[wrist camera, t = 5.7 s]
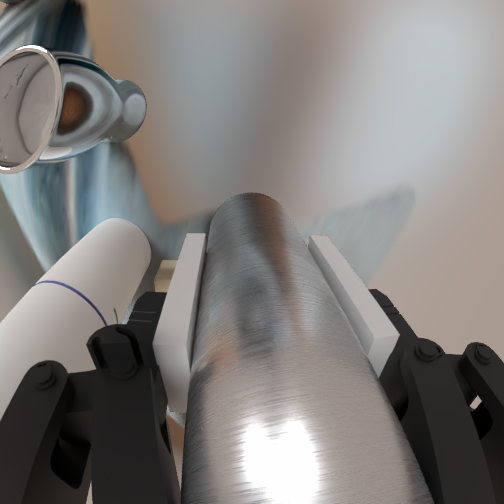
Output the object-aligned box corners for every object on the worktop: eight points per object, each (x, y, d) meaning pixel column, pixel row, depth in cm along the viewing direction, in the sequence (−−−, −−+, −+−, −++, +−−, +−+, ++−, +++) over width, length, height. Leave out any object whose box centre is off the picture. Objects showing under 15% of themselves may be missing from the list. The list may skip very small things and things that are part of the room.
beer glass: (75, 133, 22) (-37, 156, 9) (103, 67, 20) (0, 35, 6) (132, 157, 24) (38, 198, 10) (164, 89, 22) (89, 52, 8)
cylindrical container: (134, 208, 26) (-42, 440, 3) (161, 271, 29) (85, 524, 6) (79, 230, 26) (-80, 415, 4) (107, 287, 29) (9, 493, 7)
